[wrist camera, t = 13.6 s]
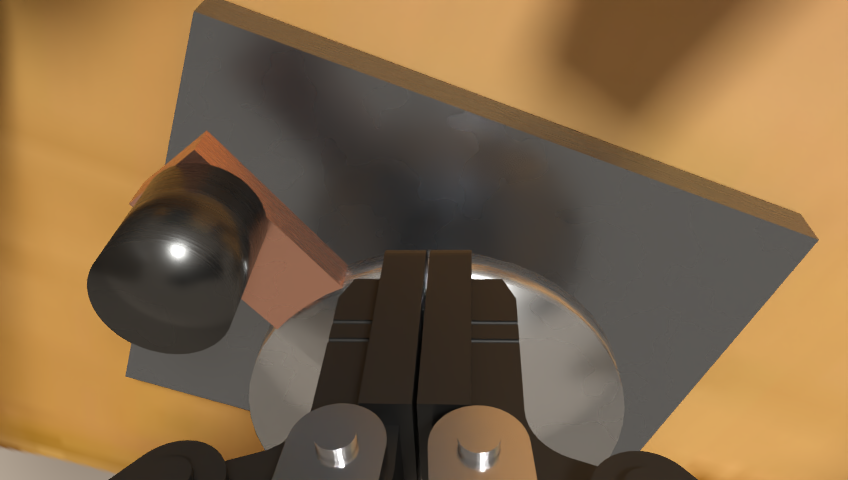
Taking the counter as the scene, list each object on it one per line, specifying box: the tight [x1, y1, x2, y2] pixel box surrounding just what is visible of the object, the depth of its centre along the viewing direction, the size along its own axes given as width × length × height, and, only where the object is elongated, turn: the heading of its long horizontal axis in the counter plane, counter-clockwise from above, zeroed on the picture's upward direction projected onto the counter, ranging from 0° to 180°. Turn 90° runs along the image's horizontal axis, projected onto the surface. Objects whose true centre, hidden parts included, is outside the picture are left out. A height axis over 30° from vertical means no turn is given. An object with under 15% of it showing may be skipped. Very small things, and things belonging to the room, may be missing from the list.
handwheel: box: [87, 131, 625, 480], centre depth 19 cm, size 16×11×4 cm
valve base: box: [126, 0, 819, 456], centre depth 25 cm, size 20×15×5 cm
